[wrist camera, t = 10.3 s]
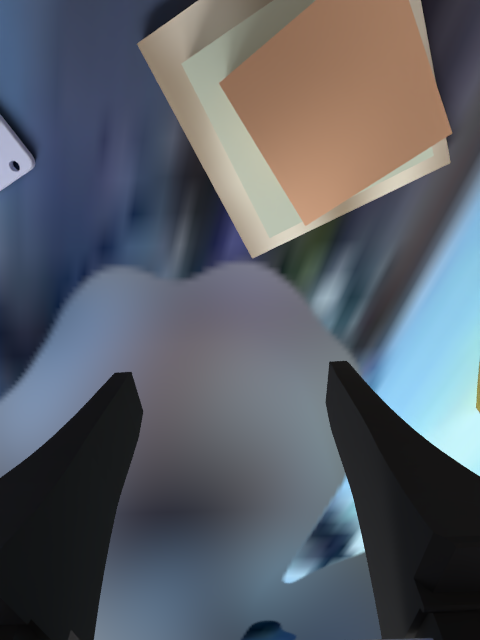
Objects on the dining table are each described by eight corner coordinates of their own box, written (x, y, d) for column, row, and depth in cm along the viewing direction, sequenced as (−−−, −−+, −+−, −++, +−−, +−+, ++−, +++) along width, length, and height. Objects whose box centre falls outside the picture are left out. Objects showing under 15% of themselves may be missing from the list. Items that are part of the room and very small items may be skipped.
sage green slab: (266, 225, 19) (269, 238, 18) (187, 66, 16) (181, 63, 14) (415, 149, 17) (433, 155, 16) (365, -56, 14) (383, -76, 12)
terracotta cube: (289, 189, 16) (305, 226, 12) (225, 82, 14) (218, 83, 10) (393, 118, 15) (452, 133, 11) (340, -15, 13) (388, -63, 8)
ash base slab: (251, 245, 22) (252, 258, 20) (147, 48, 17) (136, 43, 15) (432, 156, 19) (450, 162, 18) (376, -113, 14) (395, -140, 12)
